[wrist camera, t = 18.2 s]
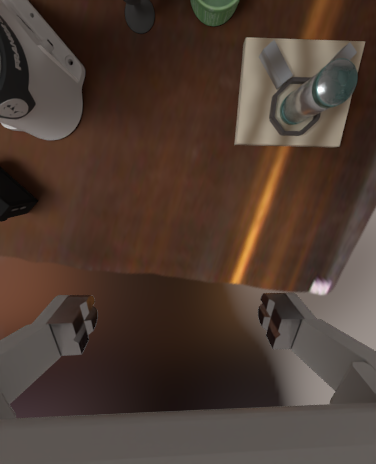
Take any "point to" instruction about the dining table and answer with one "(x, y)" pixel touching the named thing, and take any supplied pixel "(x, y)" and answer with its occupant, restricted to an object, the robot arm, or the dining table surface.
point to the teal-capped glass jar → (320, 92)
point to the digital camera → (13, 197)
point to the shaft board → (288, 91)
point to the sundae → (139, 15)
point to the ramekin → (214, 10)
